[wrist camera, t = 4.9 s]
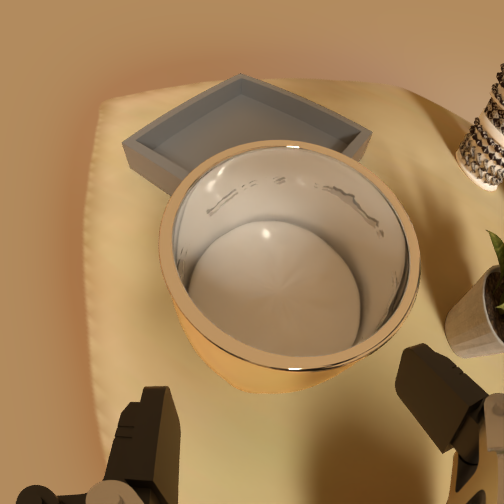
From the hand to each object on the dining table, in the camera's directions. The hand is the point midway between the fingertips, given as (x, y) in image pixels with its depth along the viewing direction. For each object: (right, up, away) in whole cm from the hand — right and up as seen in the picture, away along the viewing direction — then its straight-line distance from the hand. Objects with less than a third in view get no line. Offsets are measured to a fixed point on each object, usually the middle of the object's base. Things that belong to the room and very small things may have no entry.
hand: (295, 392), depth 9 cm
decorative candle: (+32, +17, +24) cm, 43 cm away
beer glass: (-1, -2, +11) cm, 12 cm away
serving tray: (-1, +14, +21) cm, 25 cm away
